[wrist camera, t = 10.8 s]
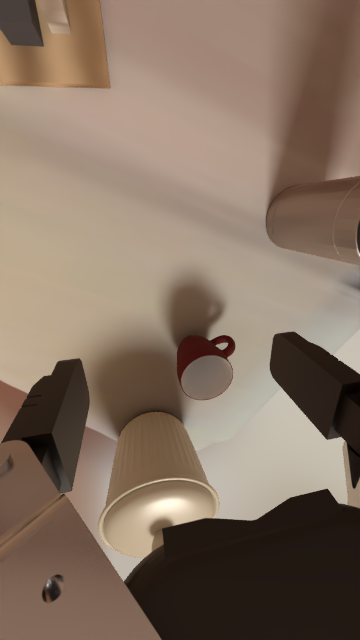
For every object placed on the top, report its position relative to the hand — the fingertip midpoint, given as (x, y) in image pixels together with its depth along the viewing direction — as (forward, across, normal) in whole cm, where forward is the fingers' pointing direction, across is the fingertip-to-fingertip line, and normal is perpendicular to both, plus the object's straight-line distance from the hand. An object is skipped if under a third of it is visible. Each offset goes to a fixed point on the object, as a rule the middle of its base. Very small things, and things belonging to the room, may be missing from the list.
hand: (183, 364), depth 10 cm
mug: (+30, -8, +16) cm, 35 cm away
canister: (+30, +2, +36) cm, 47 cm away
